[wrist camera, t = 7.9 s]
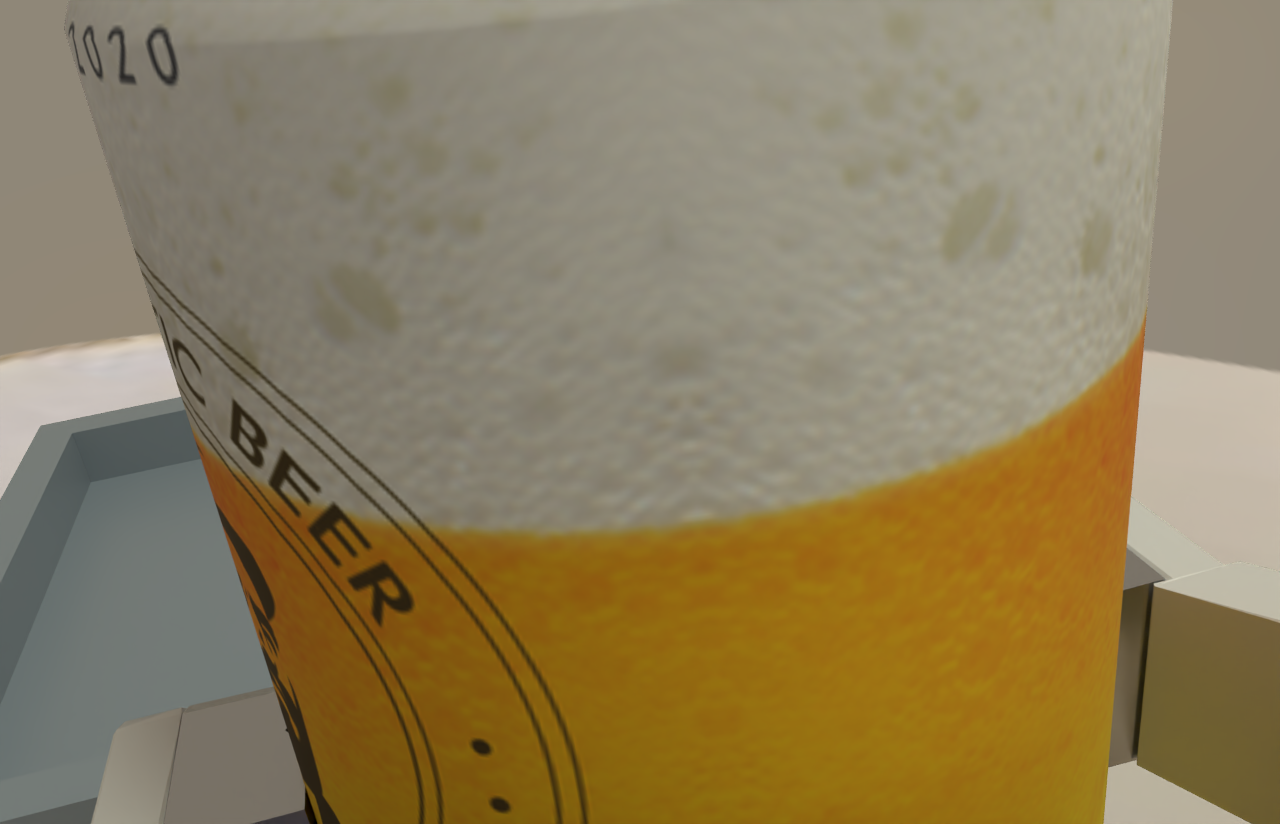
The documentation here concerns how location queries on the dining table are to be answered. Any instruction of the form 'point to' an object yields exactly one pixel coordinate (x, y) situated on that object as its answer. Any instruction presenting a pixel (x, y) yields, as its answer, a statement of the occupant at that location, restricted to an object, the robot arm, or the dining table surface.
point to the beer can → (659, 388)
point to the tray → (109, 602)
